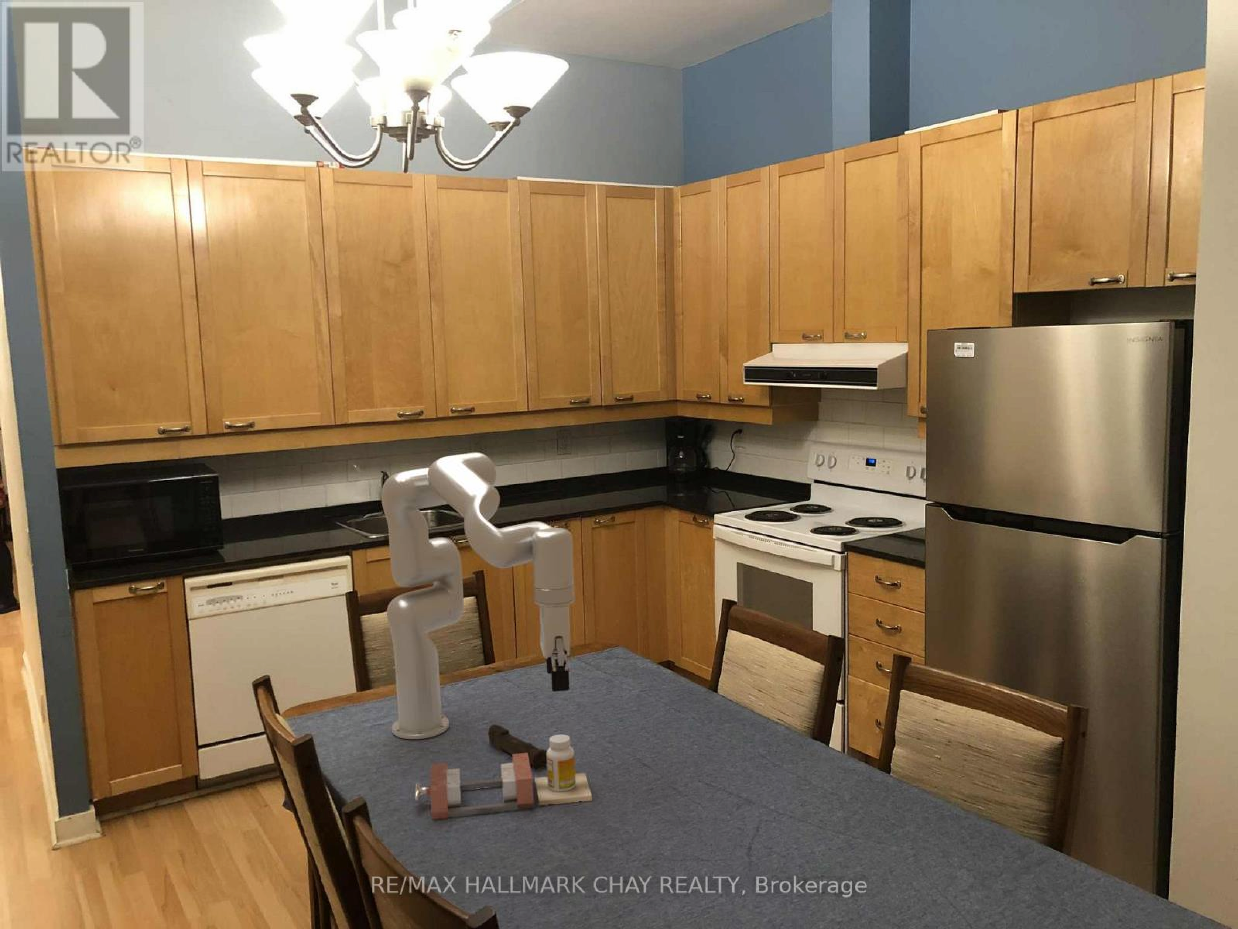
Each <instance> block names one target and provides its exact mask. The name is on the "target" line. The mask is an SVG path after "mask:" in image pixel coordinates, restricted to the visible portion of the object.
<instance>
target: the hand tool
mask: <svg viewBox="0 0 1238 929" xmlns="http://www.w3.org/2000/svg"><path fill="white" fill-rule="evenodd" d="M487 735H488V740H489V743H490V744H491V745H492V746H493V748H495V747H496V750H498V751H499V750H503V751H504V752H506V753H509V754H510V755H512V754H520V753H528V757H529V763H530V766H532V769H533V770H534V771H538V770H540V769H539V768H541V769H543V768H545V767H547V750H546V749H540V748H538V747H537V746H534V745H533V744H532V743H530V742H527V741H526V742H525V741H524V740H521V739H519V738H517V737H515V736H514V735H512V734H511V733H510V731H509V729H507V728H504V726H501V725H498V724H492V725H490V727H489V729H488V733H487ZM542 767H543V768H542ZM537 769H538V770H537Z"/></svg>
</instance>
